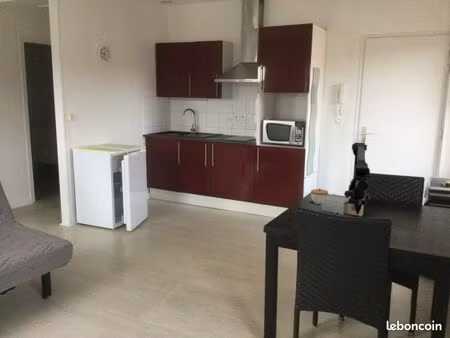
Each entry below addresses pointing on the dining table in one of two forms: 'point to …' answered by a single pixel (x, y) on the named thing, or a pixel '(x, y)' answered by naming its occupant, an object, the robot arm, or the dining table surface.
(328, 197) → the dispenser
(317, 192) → the lidded jar
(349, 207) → the beige rectangular box
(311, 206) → the dining table surface
